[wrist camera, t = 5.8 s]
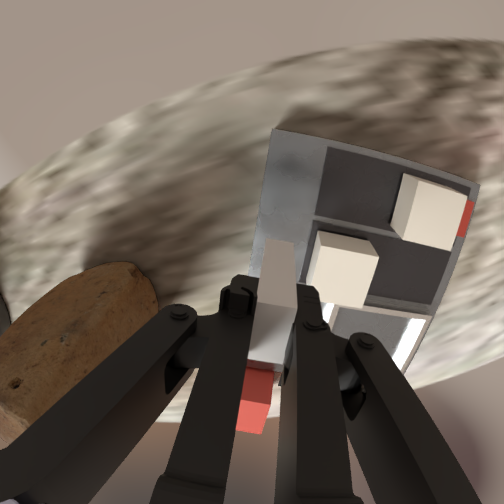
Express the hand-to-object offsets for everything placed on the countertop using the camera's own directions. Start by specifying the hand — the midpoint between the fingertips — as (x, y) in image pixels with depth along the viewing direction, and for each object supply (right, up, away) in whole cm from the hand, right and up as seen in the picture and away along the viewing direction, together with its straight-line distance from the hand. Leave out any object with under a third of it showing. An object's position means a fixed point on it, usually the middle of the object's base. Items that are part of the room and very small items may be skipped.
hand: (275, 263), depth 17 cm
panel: (+7, -1, +10) cm, 12 cm away
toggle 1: (+5, 0, +6) cm, 8 cm away
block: (-15, -4, +14) cm, 21 cm away
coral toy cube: (-2, -12, +15) cm, 19 cm away
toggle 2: (+11, +4, +3) cm, 12 cm away
